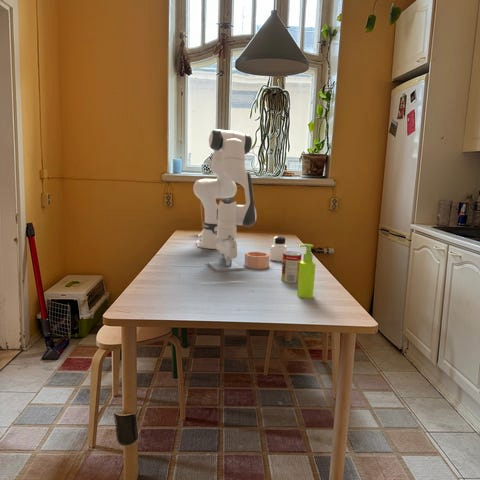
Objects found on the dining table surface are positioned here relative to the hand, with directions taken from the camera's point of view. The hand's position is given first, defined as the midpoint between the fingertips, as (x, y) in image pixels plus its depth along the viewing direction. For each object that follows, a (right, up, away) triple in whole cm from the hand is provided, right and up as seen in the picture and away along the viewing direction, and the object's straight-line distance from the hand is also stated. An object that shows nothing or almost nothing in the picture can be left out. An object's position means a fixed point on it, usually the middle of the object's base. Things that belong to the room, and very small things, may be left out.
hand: (225, 263), depth 189 cm
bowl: (+15, -2, +6) cm, 16 cm away
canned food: (+28, -7, -15) cm, 33 cm away
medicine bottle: (+27, 0, +22) cm, 35 cm away
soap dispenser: (+31, -11, -35) cm, 48 cm away
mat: (0, -2, 0) cm, 2 cm away
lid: (0, -2, 0) cm, 2 cm away
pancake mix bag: (-11, +14, +85) cm, 87 cm away
